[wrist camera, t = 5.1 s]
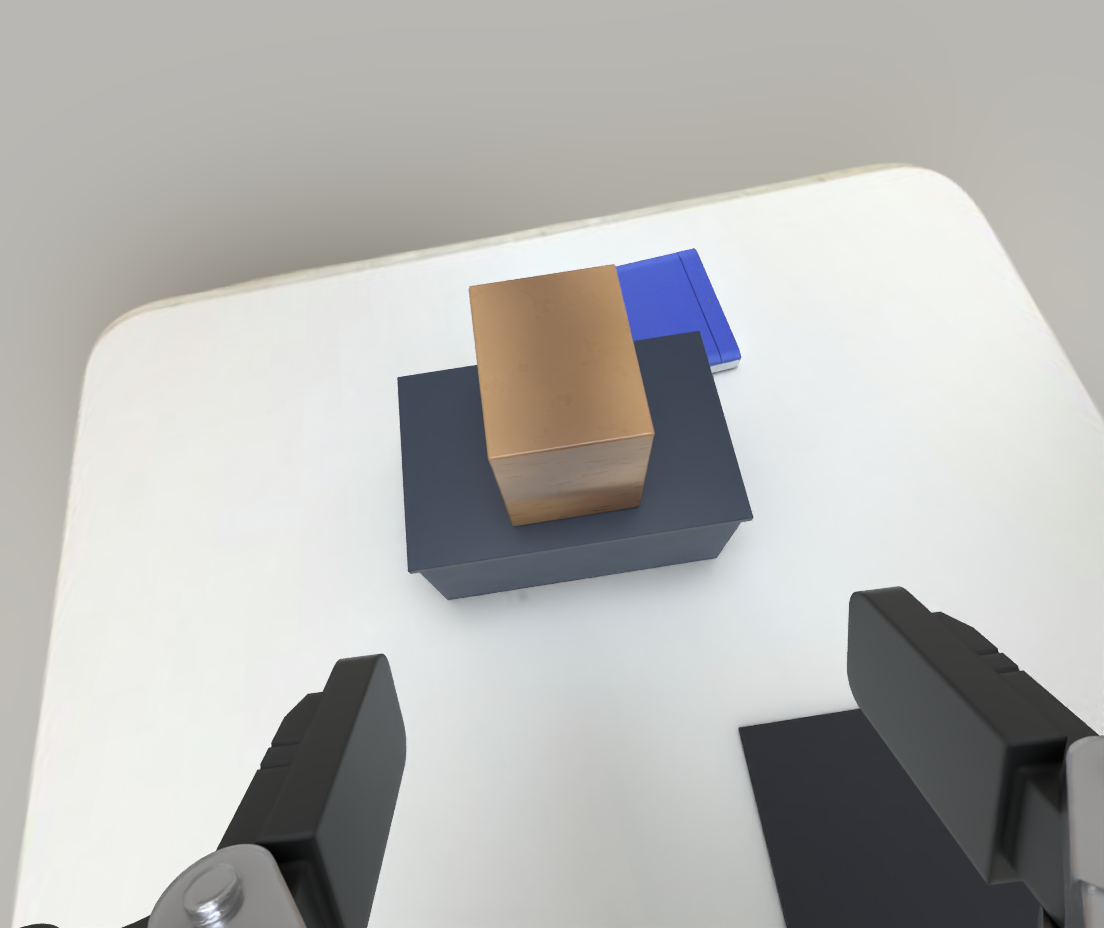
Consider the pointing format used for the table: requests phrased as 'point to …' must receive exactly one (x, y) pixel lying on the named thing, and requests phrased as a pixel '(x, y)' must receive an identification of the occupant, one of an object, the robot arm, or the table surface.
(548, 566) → the storage box
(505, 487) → the small box
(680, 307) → the blue notebook
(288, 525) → the table surface
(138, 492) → the table surface
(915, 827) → the mat
